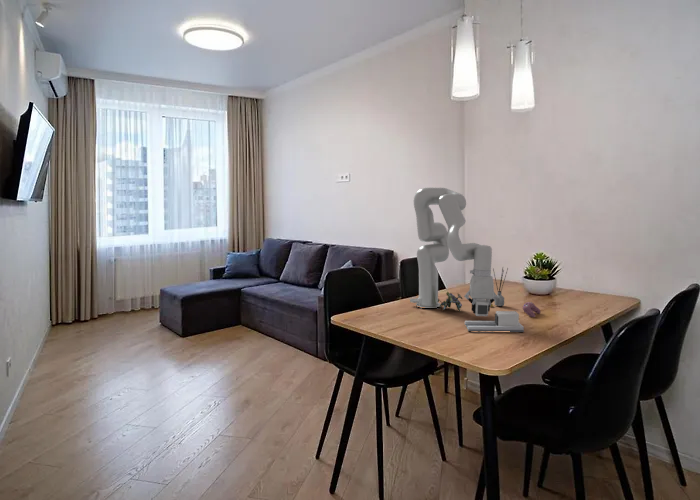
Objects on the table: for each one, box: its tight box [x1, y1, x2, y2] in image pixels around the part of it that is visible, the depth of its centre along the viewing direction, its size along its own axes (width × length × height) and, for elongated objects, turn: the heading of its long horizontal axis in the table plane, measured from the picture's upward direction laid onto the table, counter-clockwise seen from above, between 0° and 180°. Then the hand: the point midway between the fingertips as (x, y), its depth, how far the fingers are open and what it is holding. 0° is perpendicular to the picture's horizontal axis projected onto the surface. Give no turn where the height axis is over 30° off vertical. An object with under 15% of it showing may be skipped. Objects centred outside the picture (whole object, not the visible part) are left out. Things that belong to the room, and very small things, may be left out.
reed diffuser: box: [490, 267, 509, 308], centre depth 223 cm, size 10×7×20 cm
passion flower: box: [438, 291, 464, 312], centre depth 218 cm, size 11×11×12 cm
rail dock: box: [464, 310, 525, 332], centre depth 186 cm, size 22×10×7 cm, turn 84°
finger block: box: [474, 299, 489, 317], centre depth 201 cm, size 8×5×6 cm, turn 174°
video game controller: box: [522, 301, 541, 318], centre depth 208 cm, size 10×5×7 cm, turn 141°
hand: (480, 312), depth 201 cm, fingers closed on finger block, 5 cm apart
